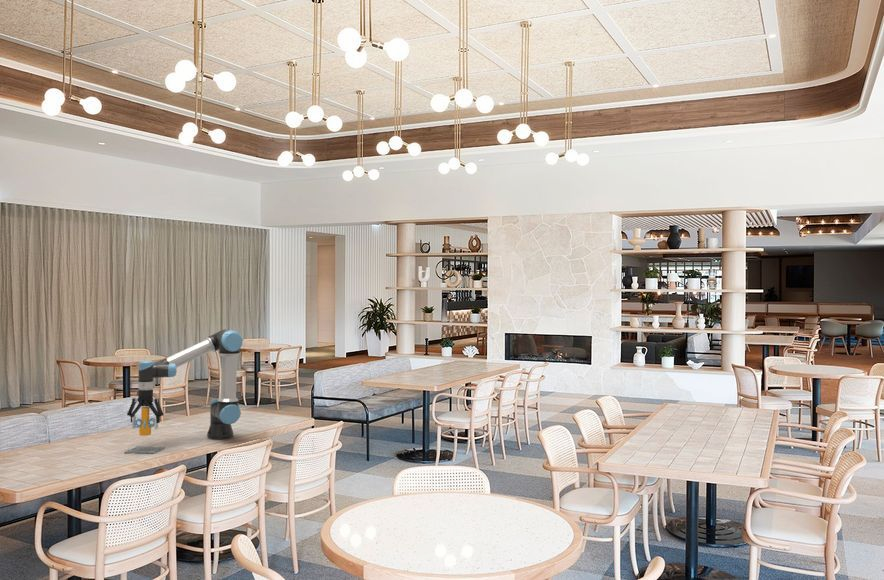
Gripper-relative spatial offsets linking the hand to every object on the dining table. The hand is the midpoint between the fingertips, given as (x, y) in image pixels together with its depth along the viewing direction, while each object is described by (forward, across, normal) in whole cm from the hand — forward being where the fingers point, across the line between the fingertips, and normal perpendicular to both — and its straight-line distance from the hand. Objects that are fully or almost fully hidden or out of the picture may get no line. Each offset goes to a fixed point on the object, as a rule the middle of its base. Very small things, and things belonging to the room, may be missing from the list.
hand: (145, 428), depth 385 cm
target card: (+12, 0, 0) cm, 12 cm away
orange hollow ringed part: (+4, 0, 0) cm, 4 cm away
